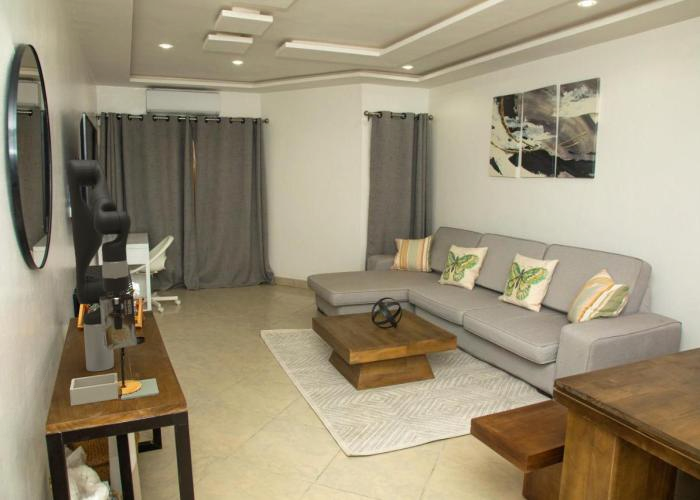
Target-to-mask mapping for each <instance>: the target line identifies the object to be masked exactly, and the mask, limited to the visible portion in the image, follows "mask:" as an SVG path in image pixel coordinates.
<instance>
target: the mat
mask: <svg viewBox="0 0 700 500" xmlns="http://www.w3.org/2000/svg"><path fill="white" fill-rule="evenodd" d="M137 381H138V382H141V383H142V387H141V389H140V390H138V391H137V392H134V393H132V394H127V395H122V396H121V395H120V396H121V397H120V398H121V401H126V400H130V399H138V398H139V399H140V398H144V397H149V396H157V395H159V394H160V391H159V388H158V384H157V379H156V377H155V378H148V379H142V380H137Z"/></svg>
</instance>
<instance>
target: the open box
mask: <svg viewBox="0 0 700 500" xmlns="http://www.w3.org/2000/svg"><path fill="white" fill-rule="evenodd" d="M70 383H71V384H70V388H69V396H70V397H69V398H70V407H72V406H73V407H74V406H78V405H84V404H85V405H86V404H91V403H98V402H103V401H112V400H116V399H117V400H119V386H118V385H119V384H118V383H119V382H118V372H113V373H106V374H98V375H92V376H85V377H77V378H72V379H71V382H70Z"/></svg>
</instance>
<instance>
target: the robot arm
mask: <svg viewBox="0 0 700 500" xmlns="http://www.w3.org/2000/svg"><path fill="white" fill-rule="evenodd" d="M66 178H67V180H66V181H67V186H68V193H69V199H70V210H71V227H72V228H71V229H72V240H73V248H74V257H75V258H74V259H75V281H76V282H75V287H76V288H75V289H76V291H75V292H76V299H77V302H78V304H79V305H96V304H100V298H99V297H103V296H113V297H110V298H112V305H113V308H111V309H112V310H113V317H114V326H115V329H116V330H118V329H122V316H123V315H122V310H123V304H121V297H124V296H121V294H123V295H124V294H125V293H123V291H126V290H129V289H130V278H129V277H130V276H129V266H128V265H129V264H128V259H127V258H128V256H127V244H128V239H129V234H130V230H131V226H132V225H131V224H132V219H131V217H130V215H129V214H128V212H126V211H123V210H122V211H121V210H118V207H117V203H116V202H115V200H114V198H113V196H112V195H111V193H110V189H109V184H108V181H107V177H106V173H105V170H104V168H103V165H102V163H100V162H99V161H98V160H96V159H95V160H94V159H70V160H68V161H67V162H66ZM81 187H83V188H85V187H89V188H90V187H91V188H92V190H91V191H90V193H89V194H88V195H89V196H88V203H89V205H90V207H91V208H90V207H89V205H88V204H87V202H86V201H85V199H84V198H83V195H82V192H81ZM103 235H117V236H116V237H115V239H112V240H110V241H106V242H103ZM102 243H103V244H102ZM100 248H101V259H102V264H101V265H102V266H101V271H102V272H101V273H102V275H101V276H102V277H94V278H93V277H92V278H91V277H90V278H87V277H86V276H87V272H88V269H89V267H90V265H91V263H92V261H93V259H94V258H95V256H96V254H97V253H98V252H99V250H100ZM111 293H112V295H111ZM115 310H120V313H115ZM82 321H83V339H84V353H85V364H86V365H85V367H86V370H87V371H88V372H102V371H107V370H110V369H112V368H114V367H115V360H114V349H111V350H106V348H105V347H104V346H103V336H102V323H101V310H100V306H99V307H98V308H96V309H95V310H93V311H90V312H87V313H85V314H84V315H83V316H82Z"/></svg>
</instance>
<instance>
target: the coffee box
mask: <svg viewBox="0 0 700 500" xmlns="http://www.w3.org/2000/svg"><path fill="white" fill-rule="evenodd" d="M123 294H124V295H123ZM121 296H124V297H121V304H123V310H122V315H123V316H122V329H118V330H116V329H115V326H114V317H113V310H112V309H111V308H113V305H112V298H110V297H113V296H103V297H99V298H100V303H99V307H100V310H101V323H102V336H103V346H104V347H105V348H106V350H111V349H113V350H117V349H121V348H126V347H132V346H134V347H135V346H137V344H138V342H137V340H138V339H137V331H136V330H137V329H136V328H137V327H136V316H135V302H134V301H135V300H134V296H133V295H132V294H130V293H121ZM115 313H120V310H115Z"/></svg>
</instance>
